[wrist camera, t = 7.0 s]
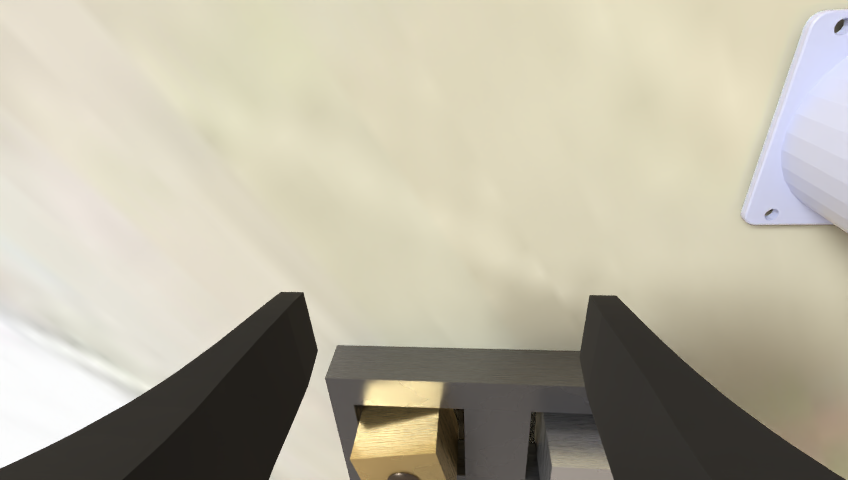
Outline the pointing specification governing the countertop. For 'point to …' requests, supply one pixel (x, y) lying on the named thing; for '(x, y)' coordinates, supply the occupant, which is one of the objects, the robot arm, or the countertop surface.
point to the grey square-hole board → (461, 398)
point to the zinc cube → (569, 447)
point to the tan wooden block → (406, 443)
